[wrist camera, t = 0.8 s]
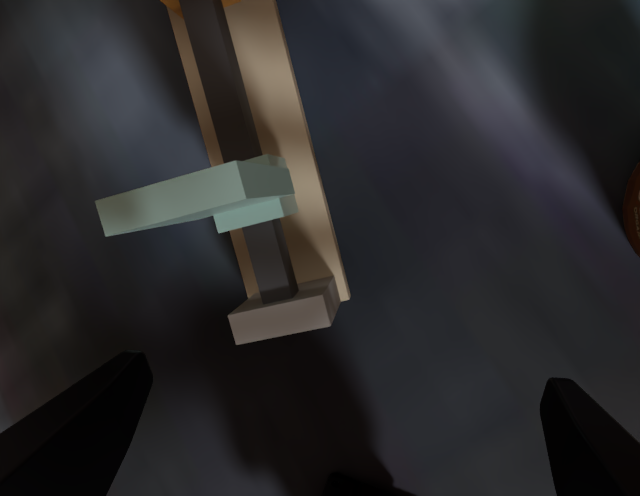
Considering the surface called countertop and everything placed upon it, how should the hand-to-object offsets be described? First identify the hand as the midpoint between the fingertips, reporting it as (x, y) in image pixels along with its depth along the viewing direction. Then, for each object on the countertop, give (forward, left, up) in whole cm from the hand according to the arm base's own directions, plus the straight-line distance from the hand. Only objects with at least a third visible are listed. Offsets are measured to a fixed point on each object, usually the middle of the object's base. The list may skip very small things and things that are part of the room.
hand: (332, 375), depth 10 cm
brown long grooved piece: (+4, +8, -16) cm, 19 cm away
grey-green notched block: (+2, +7, -14) cm, 16 cm away
